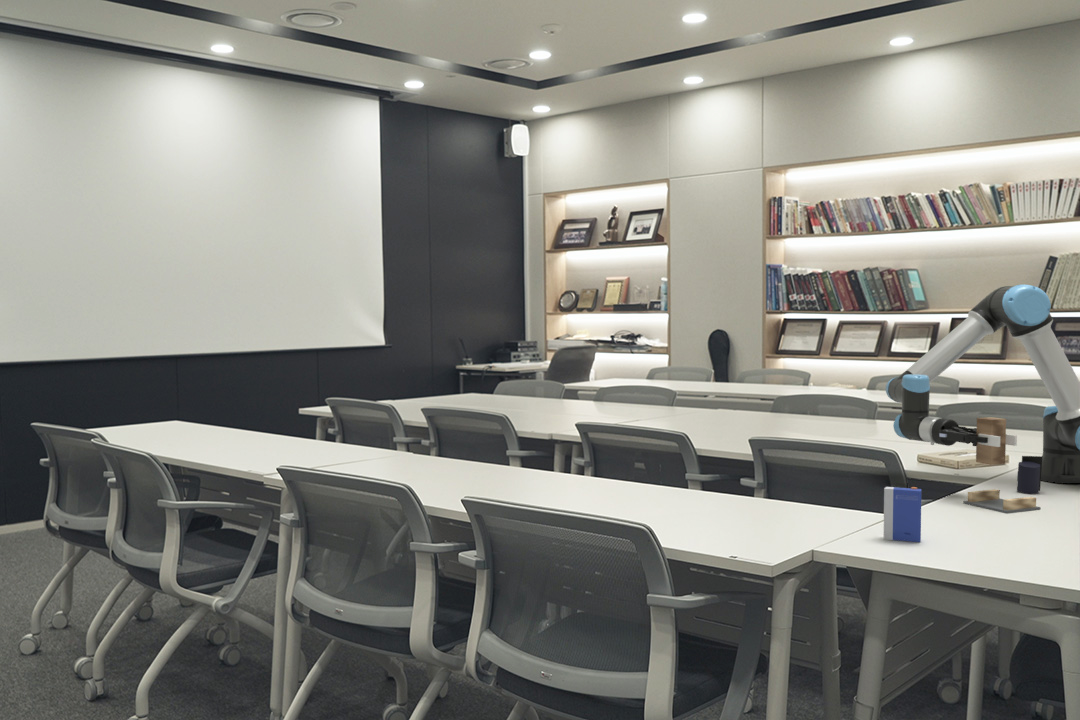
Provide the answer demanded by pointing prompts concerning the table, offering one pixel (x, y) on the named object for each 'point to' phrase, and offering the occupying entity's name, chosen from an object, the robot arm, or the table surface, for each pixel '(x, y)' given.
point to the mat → (997, 506)
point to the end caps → (1007, 503)
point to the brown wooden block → (991, 453)
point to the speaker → (1029, 474)
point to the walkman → (902, 514)
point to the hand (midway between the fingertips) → (1007, 441)
